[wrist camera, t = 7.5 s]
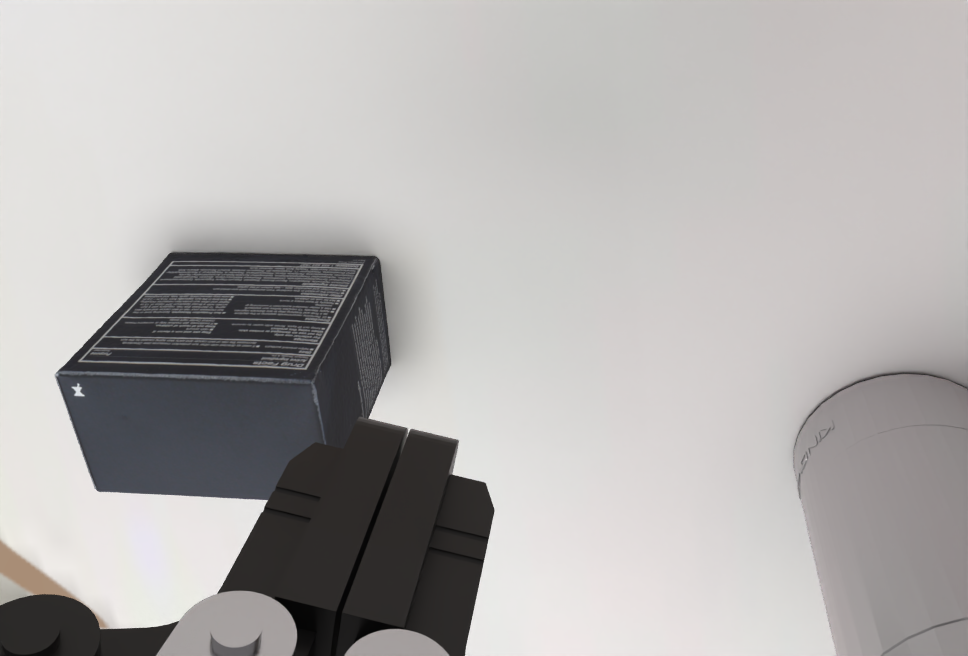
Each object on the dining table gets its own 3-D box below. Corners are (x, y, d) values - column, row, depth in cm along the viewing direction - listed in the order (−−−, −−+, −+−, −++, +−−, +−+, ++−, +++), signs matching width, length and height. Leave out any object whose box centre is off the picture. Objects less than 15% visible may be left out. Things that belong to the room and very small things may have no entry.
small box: (194, 365, 47) (89, 500, 38) (165, 249, 44) (43, 367, 35) (395, 372, 45) (335, 514, 36) (381, 252, 42) (312, 376, 33)
